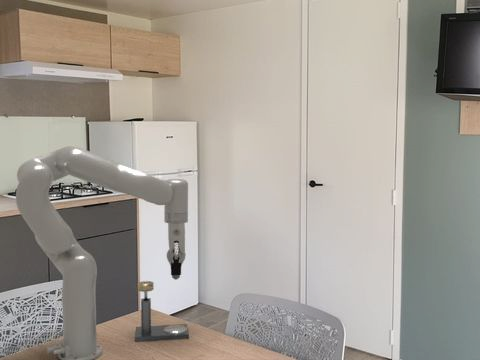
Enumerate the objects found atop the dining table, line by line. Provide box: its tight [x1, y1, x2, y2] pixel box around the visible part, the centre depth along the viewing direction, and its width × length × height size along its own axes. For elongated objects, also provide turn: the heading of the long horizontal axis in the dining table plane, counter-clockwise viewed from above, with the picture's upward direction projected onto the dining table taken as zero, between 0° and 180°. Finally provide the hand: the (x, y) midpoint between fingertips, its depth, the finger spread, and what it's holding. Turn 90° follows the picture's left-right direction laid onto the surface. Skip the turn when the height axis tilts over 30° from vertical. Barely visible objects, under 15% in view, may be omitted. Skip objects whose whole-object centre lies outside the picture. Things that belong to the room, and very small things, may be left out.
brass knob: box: [137, 280, 154, 301], centre depth 172 cm, size 5×5×6 cm
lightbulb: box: [166, 249, 186, 281], centre depth 172 cm, size 6×6×11 cm
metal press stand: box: [134, 297, 190, 343], centre depth 174 cm, size 17×9×12 cm, turn 99°
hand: (175, 272), depth 173 cm, fingers closed on lightbulb, 5 cm apart
